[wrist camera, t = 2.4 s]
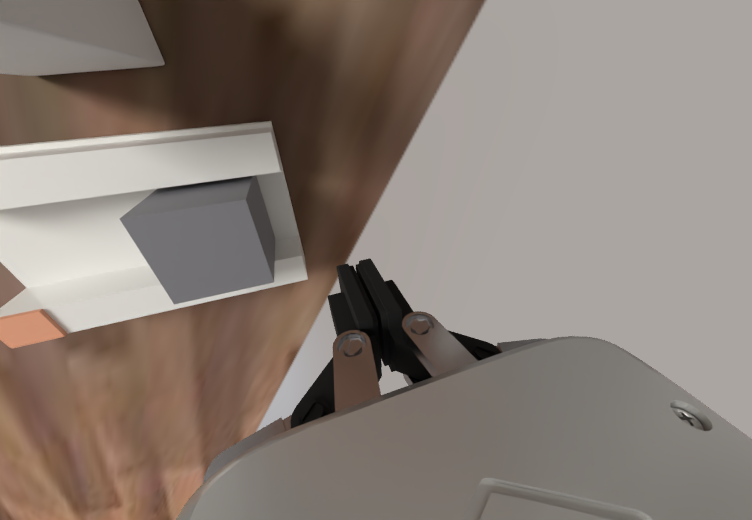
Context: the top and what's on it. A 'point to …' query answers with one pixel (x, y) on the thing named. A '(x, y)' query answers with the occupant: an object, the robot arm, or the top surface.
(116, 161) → the chute
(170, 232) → the block
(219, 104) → the top surface
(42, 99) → the top surface
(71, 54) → the milk carton
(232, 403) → the top surface
